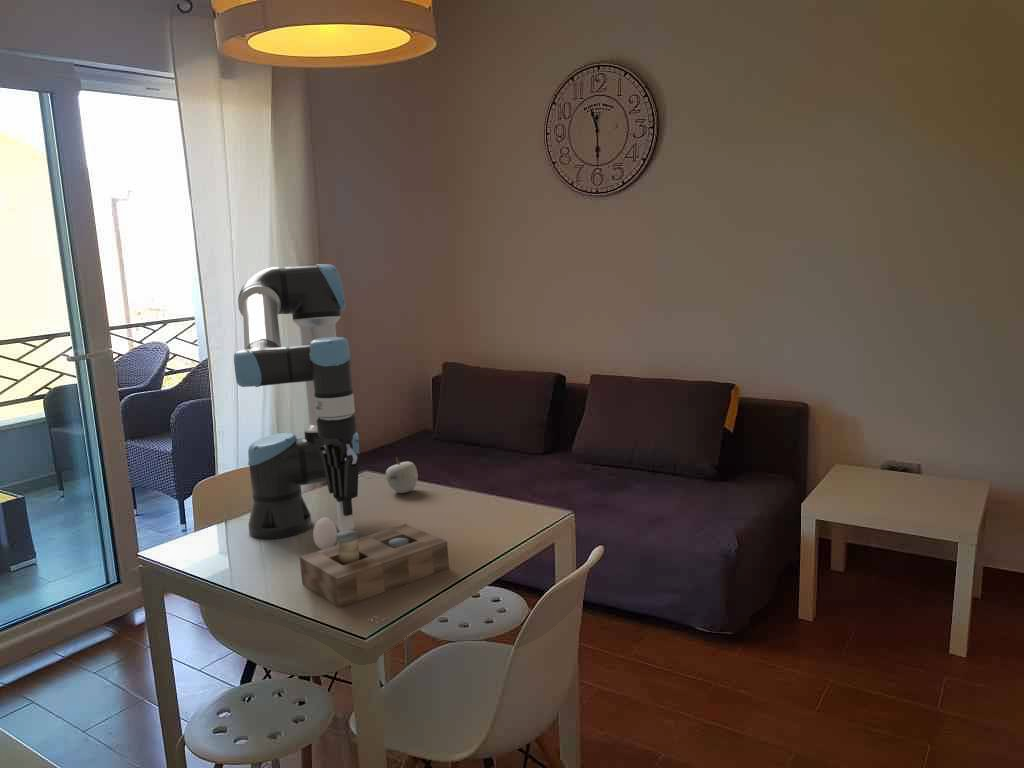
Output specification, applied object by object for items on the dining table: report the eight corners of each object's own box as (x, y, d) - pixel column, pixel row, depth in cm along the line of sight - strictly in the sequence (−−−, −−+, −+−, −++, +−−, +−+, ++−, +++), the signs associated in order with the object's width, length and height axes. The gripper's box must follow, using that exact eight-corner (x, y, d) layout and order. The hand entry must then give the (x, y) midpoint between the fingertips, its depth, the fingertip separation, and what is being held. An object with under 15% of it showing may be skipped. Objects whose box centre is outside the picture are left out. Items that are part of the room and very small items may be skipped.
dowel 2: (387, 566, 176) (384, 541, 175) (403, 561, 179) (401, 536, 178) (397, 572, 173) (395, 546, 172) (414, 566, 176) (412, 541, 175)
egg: (317, 555, 185) (314, 523, 184) (312, 548, 190) (309, 516, 189) (341, 550, 188) (338, 518, 186) (334, 543, 192) (331, 512, 191)
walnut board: (302, 584, 170) (299, 556, 169) (407, 548, 187) (405, 523, 186) (340, 607, 158) (337, 578, 157) (449, 567, 175) (447, 541, 173)
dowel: (334, 560, 168) (332, 534, 167) (353, 554, 170) (350, 528, 169) (345, 566, 165) (342, 539, 164) (363, 560, 167) (361, 533, 166)
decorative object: (417, 496, 225) (415, 461, 223) (385, 498, 225) (383, 463, 223) (420, 486, 234) (417, 452, 232) (389, 488, 233) (386, 454, 231)
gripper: (303, 415, 165) (314, 526, 169) (334, 423, 155) (345, 542, 159) (336, 408, 170) (346, 517, 174) (369, 416, 160) (379, 531, 164)
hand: (346, 529), depth 166 cm, fingers closed
